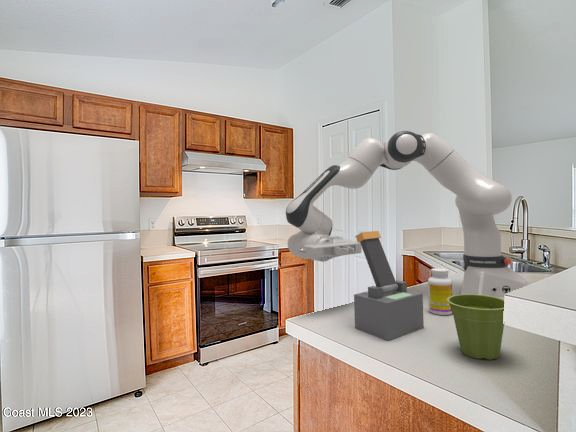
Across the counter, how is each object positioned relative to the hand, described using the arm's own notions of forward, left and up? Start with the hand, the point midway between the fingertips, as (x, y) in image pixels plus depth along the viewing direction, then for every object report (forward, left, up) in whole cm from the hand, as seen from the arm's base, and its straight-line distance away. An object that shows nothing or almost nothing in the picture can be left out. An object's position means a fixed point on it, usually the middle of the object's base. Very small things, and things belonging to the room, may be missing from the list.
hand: (350, 251), depth 97 cm
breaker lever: (-12, +7, -9) cm, 16 cm away
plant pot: (-32, +15, -19) cm, 40 cm away
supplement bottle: (-24, -12, -19) cm, 33 cm away
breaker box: (-12, +7, -19) cm, 23 cm away
